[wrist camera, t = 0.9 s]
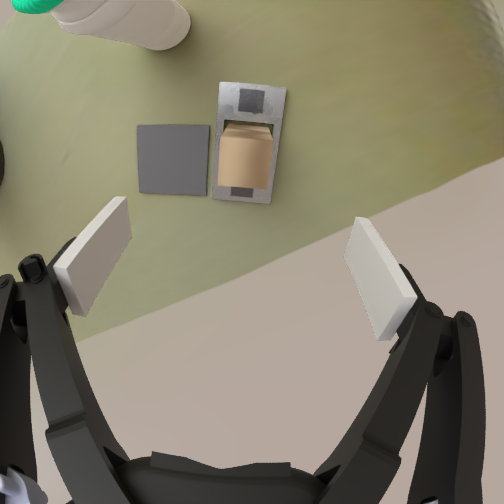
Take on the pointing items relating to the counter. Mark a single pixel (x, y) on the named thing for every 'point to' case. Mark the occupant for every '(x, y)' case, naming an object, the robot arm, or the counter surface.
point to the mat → (173, 159)
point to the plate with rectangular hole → (253, 110)
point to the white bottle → (117, 19)
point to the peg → (245, 156)
